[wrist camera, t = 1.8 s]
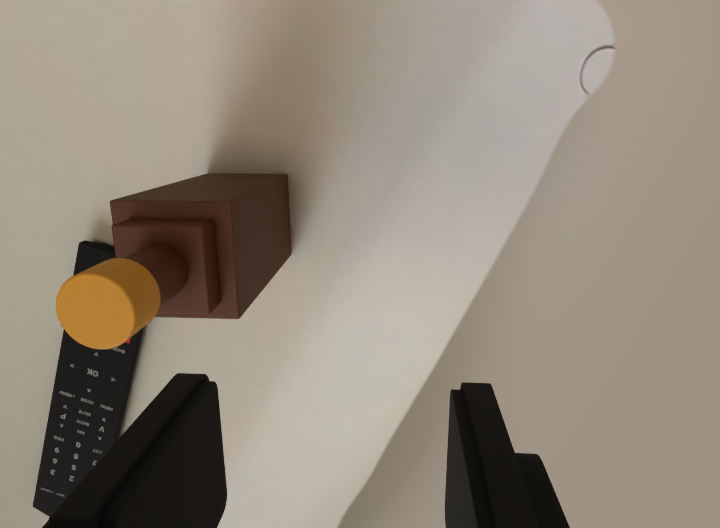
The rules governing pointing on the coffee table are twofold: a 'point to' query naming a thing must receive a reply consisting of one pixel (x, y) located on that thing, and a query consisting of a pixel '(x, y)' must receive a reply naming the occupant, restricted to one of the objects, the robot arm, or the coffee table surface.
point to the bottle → (181, 256)
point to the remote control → (83, 403)
